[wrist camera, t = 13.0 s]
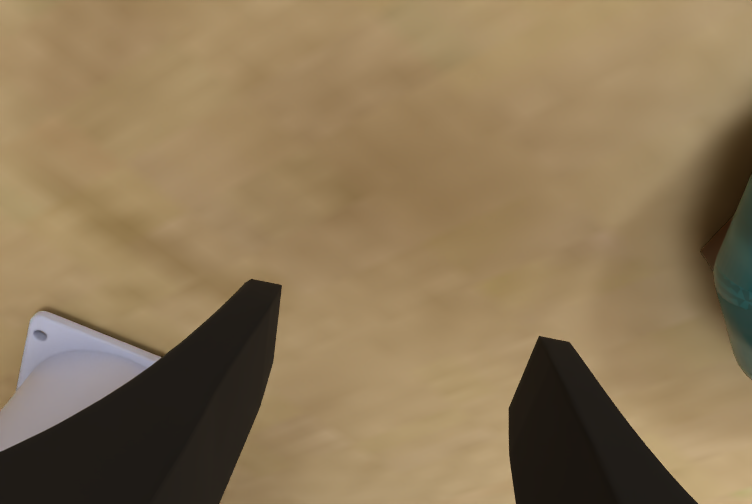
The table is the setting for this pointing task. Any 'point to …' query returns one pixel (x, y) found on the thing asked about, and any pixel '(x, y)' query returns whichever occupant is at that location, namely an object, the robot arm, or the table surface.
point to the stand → (715, 245)
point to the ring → (737, 281)
